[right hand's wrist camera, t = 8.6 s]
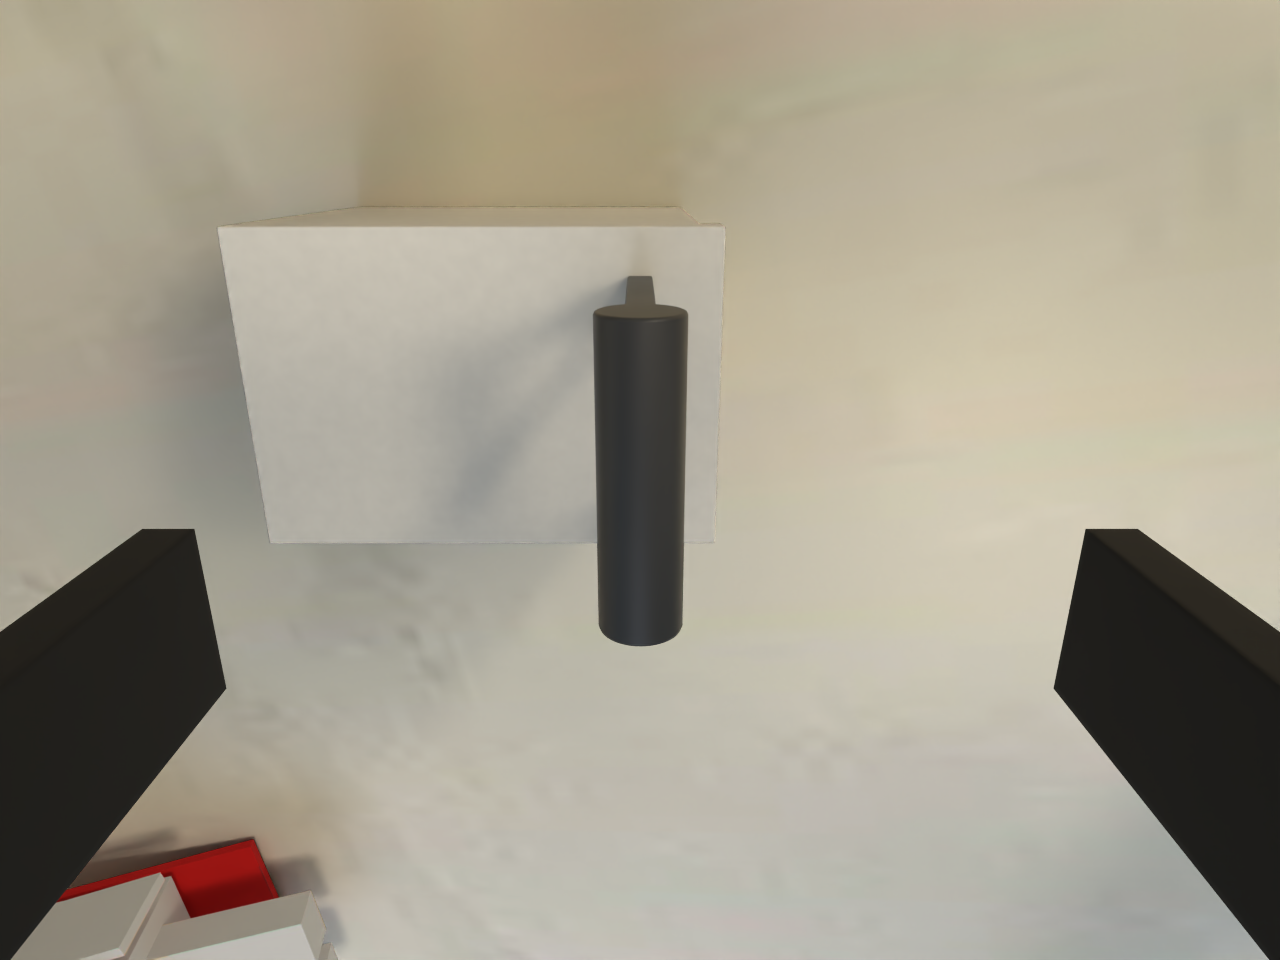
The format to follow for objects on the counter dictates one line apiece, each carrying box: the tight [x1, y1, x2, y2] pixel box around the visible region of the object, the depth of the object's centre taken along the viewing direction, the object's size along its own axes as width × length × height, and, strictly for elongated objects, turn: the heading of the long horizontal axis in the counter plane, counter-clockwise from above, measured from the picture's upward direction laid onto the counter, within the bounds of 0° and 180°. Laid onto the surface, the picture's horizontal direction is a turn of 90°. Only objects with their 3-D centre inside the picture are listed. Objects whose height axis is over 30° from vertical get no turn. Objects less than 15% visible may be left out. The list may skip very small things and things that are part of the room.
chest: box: [245, 207, 698, 223], centre depth 31 cm, size 13×10×11 cm
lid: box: [217, 223, 726, 646], centre depth 22 cm, size 14×10×9 cm
